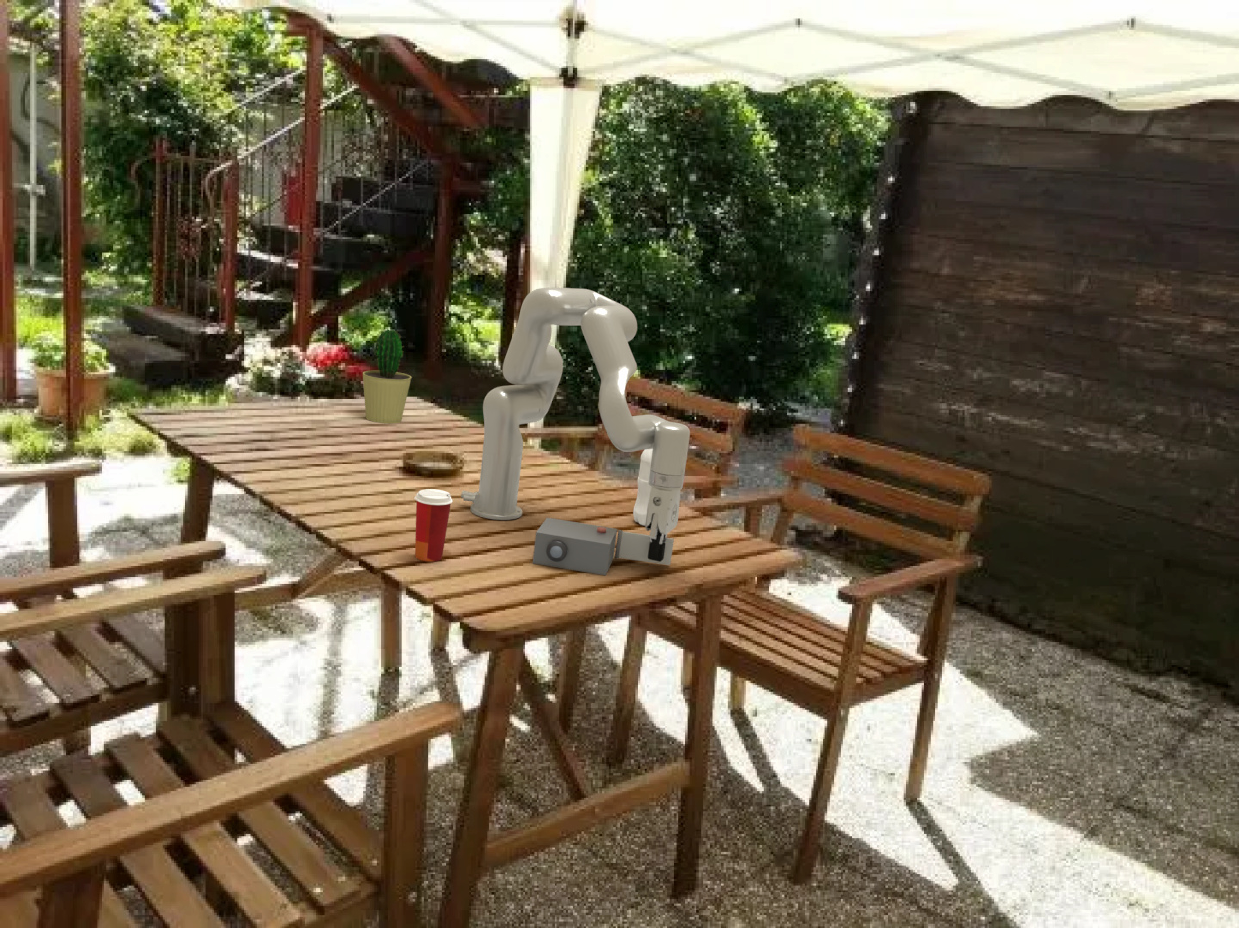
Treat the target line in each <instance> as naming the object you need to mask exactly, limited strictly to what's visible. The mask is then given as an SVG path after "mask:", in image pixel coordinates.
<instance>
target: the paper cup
mask: <svg viewBox="0 0 1239 928" xmlns="http://www.w3.org/2000/svg"><path fill="white" fill-rule="evenodd" d="M414 500H415V501H416V507H415V545H414V549H415V551H414V553H415V554H414V557H415V558H416V559H417V560H419V561H421V562H427V563H430V562H431V563H433V562H440V561H441V560H442V558H443V555H444V549H445V542H446V537H447V530H448V523H449V519H450V511H451V504H452V503H453V499H452V495H451V493H450V492H448V491H445V490H442V489H434V488H430V489H429V488H426V489H421V490H418V492H417V493H416V494H415V496H414Z"/></svg>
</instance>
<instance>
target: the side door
mask: <svg viewBox="0 0 1239 928" xmlns="http://www.w3.org/2000/svg"><path fill="white" fill-rule="evenodd" d="M649 535H650V534H643V533H636V532H629V531H623V530H621V529H617V536H616V544H615V551H614V558H615V559H617V560H618V559H625V560H631V561H637V562H638V561H639V562H645V563H651V564H658V565H665V566H671V562H672V556H673V549H674V542H675V539H674V538H671V537H667V538H666V542H663V543H666V544H665V552H664V559H663V560H662V561H661V562H659V561H654V560H650V559H648V551H649V544H650V538H649Z"/></svg>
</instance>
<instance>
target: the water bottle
mask: <svg viewBox="0 0 1239 928" xmlns="http://www.w3.org/2000/svg"><path fill="white" fill-rule="evenodd" d="M652 451H653V449H645V450H642V453H641V455H640V462H639V463H640V464H639V469H638V471H639V472H638V477H637V480H636V481H637V497H636V499H635V504H634V506H633V512H632V514H633V519H634V522H635V523H638V524H639V525H640V526H644V527H645V524H646V515H647V509H648V503H649V497H650V492H651V488H652V486H650V485H649V484H648V481H649V474H650V466H651V459H652Z"/></svg>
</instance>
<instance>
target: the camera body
mask: <svg viewBox="0 0 1239 928" xmlns="http://www.w3.org/2000/svg"><path fill="white" fill-rule="evenodd" d="M617 536H618V528H615V527H614V528H613V527H608V526H602V525H596V524H595V525H594V524H589V523H583V522H577V521H572V520H564V519H559V518H558V519H557V518H554V517H553V518H551V517H546V518H545V520H544V521H543V523H542V524H541V525H540V526H539V528H538V529H537V531H536V532H535V538H534V539H535V540H534V545H533V546H534V548H533V556H532V564H536V565H540V566H541V565H542V566H547V567H552V568H553V567H554V568H560V569H565V570H571V571H577V572H583V573H589V574H595V575H600V576H601V575H602V576H606V575H607V573H608V571H609V569H610V566H611V565H612V562H613V560H614V558H615V551H616V543H617Z"/></svg>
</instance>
